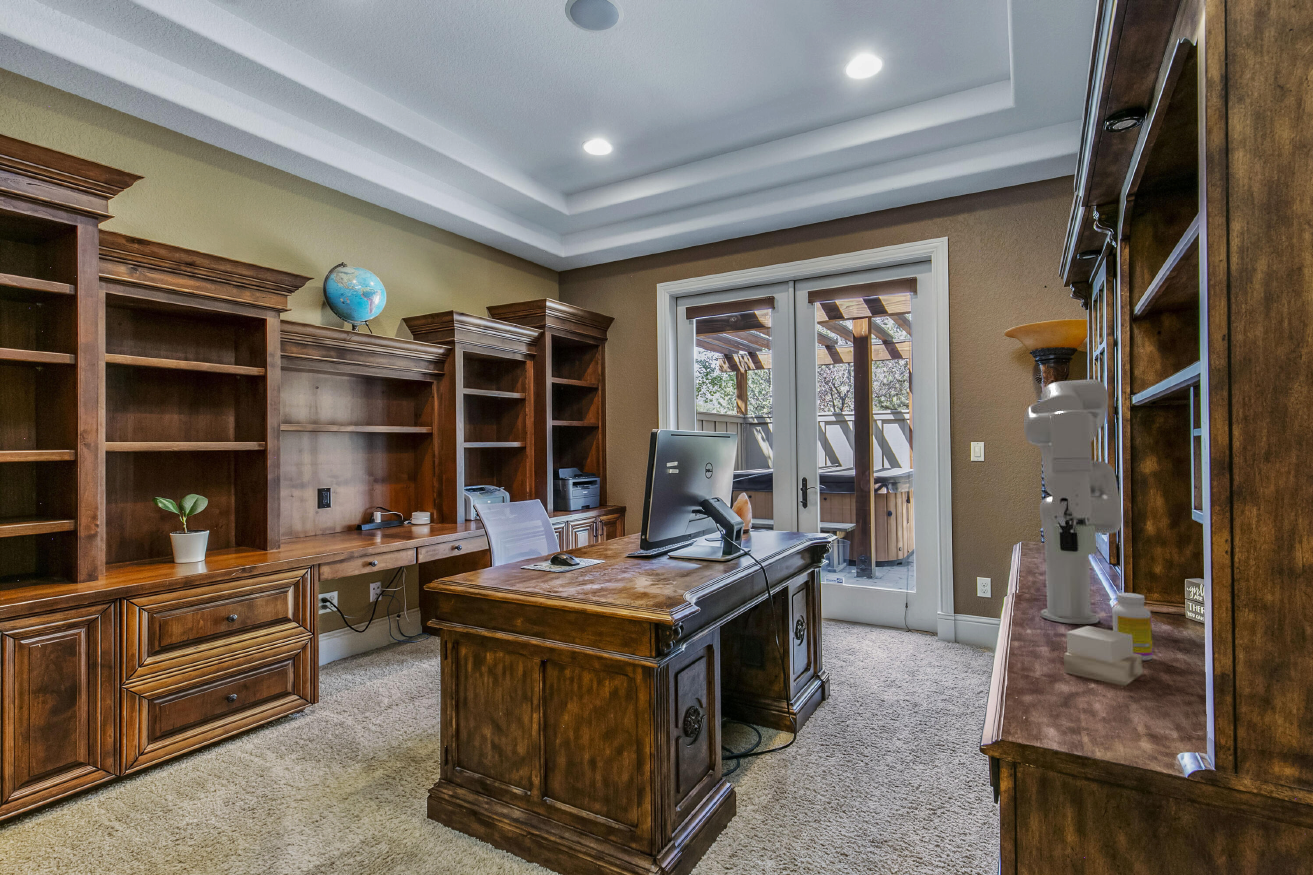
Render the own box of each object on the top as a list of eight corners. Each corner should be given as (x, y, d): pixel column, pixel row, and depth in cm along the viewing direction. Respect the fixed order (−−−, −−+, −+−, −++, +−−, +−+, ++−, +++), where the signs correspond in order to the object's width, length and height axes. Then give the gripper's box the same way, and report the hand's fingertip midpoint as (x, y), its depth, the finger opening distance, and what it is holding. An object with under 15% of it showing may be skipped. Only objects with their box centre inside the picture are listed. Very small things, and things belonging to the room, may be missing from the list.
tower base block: (1084, 663, 134) (1083, 643, 134) (1142, 675, 126) (1141, 654, 126) (1064, 674, 128) (1064, 654, 128) (1124, 688, 120) (1124, 666, 120)
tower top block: (1088, 645, 133) (1087, 625, 133) (1133, 655, 126) (1132, 634, 126) (1067, 652, 129) (1066, 632, 129) (1112, 663, 122) (1111, 641, 122)
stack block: (1065, 550, 145) (1064, 523, 146) (1096, 552, 141) (1094, 525, 141) (1054, 552, 142) (1053, 525, 142) (1085, 555, 137) (1084, 527, 137)
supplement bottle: (1160, 662, 132) (1157, 598, 132) (1123, 661, 133) (1121, 598, 134) (1142, 652, 139) (1139, 591, 139) (1107, 651, 140) (1105, 591, 140)
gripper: (1067, 466, 150) (1070, 544, 149) (1036, 467, 139) (1040, 551, 139) (1105, 466, 144) (1108, 547, 144) (1076, 467, 134) (1079, 555, 133)
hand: (1075, 548), depth 141 cm, fingers closed on stack block, 6 cm apart
